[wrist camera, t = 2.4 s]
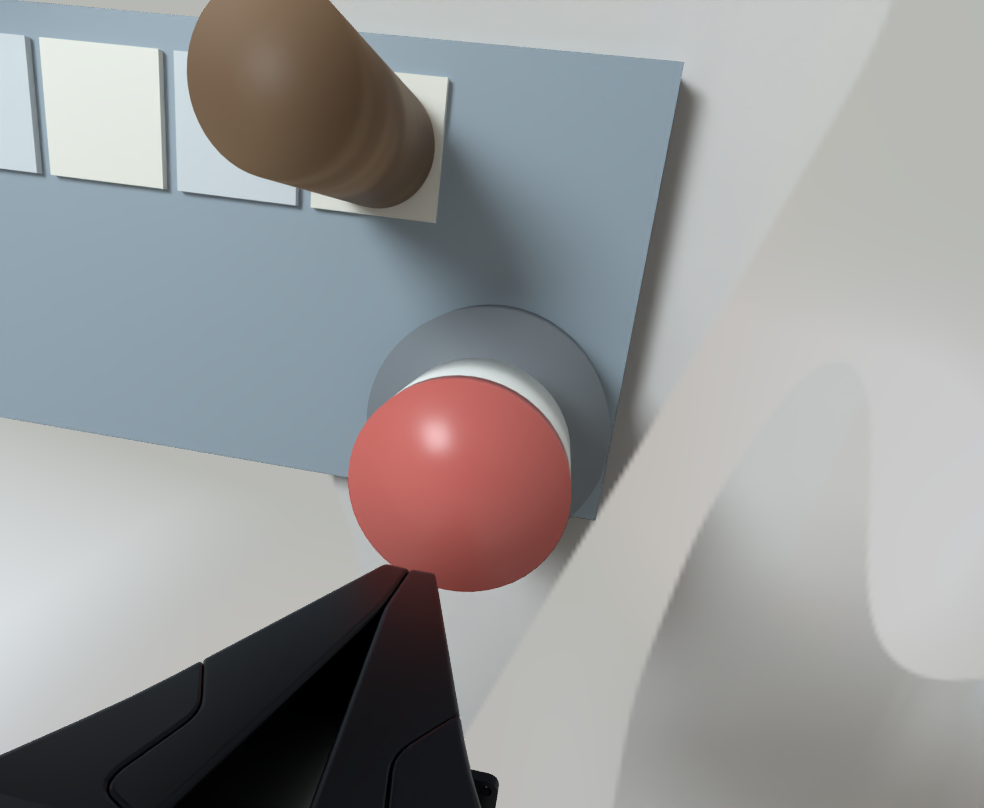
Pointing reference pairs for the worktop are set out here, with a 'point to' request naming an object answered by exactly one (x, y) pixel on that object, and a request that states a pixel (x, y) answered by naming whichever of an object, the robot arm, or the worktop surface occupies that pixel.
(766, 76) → the worktop surface
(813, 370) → the worktop surface
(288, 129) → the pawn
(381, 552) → the dome
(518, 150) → the board
